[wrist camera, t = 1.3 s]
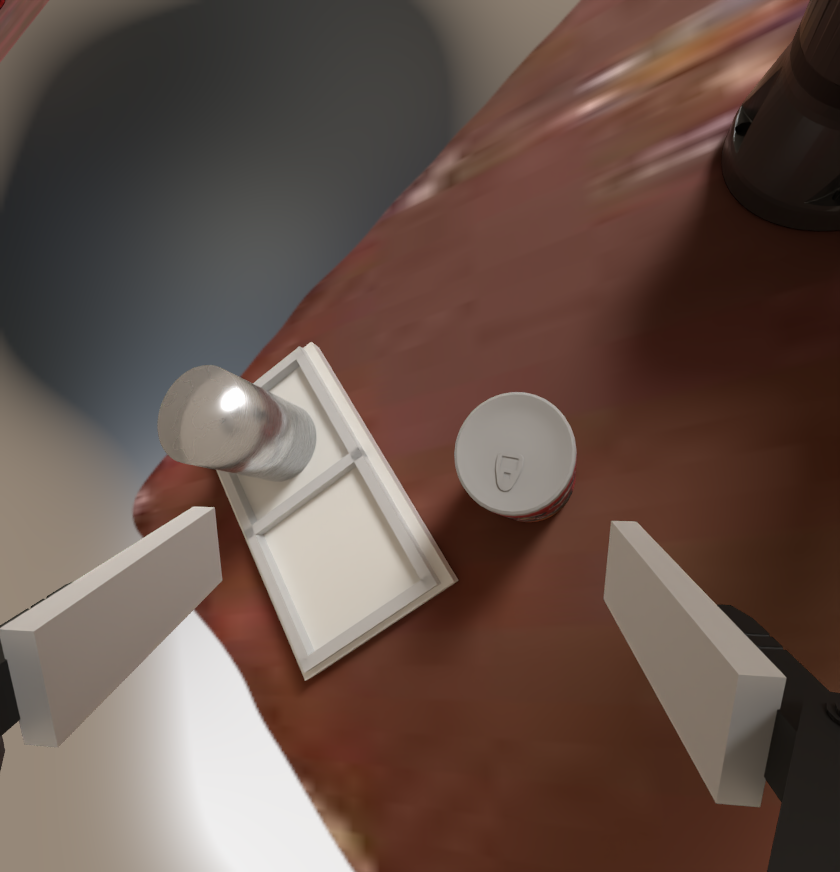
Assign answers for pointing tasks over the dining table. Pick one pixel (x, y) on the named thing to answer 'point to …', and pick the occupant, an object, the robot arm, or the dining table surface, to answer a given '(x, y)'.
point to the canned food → (517, 457)
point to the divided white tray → (334, 527)
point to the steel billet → (234, 426)
